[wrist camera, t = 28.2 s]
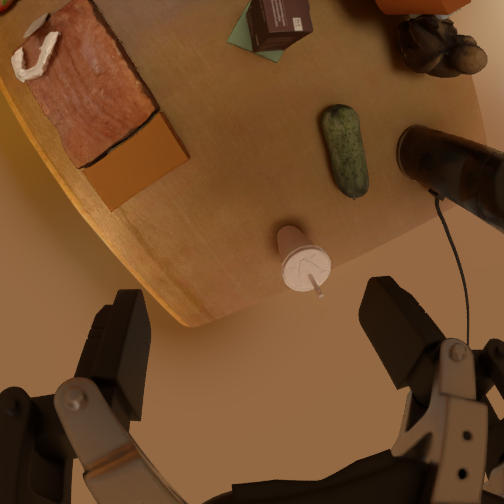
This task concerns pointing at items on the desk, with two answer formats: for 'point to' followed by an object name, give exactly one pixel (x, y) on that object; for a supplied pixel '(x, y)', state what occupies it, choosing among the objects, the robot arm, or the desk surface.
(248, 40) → the mat
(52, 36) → the false teeth
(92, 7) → the brown wooden flat board
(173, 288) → the desk surface
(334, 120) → the vegetable
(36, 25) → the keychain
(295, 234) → the smoothie
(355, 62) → the desk surface
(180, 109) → the desk surface
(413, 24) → the sculpture
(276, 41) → the box
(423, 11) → the rounded orange block
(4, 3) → the fruit
